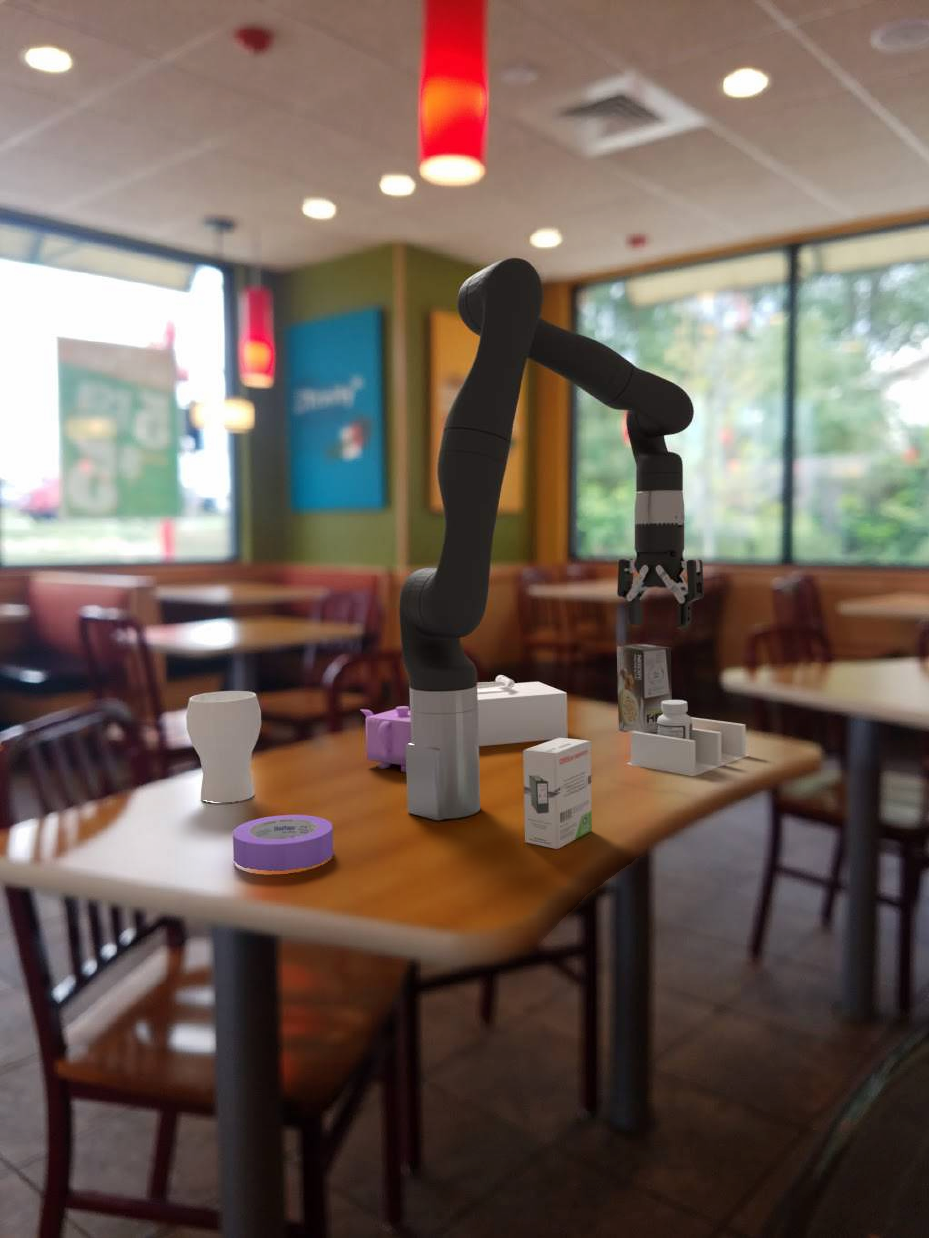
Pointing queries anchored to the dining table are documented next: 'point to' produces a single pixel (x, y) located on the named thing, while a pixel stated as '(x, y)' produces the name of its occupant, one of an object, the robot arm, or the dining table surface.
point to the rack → (690, 748)
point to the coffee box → (642, 685)
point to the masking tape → (283, 842)
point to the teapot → (388, 736)
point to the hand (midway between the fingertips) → (659, 626)
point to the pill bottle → (674, 720)
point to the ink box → (557, 792)
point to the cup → (224, 742)
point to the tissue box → (520, 712)
